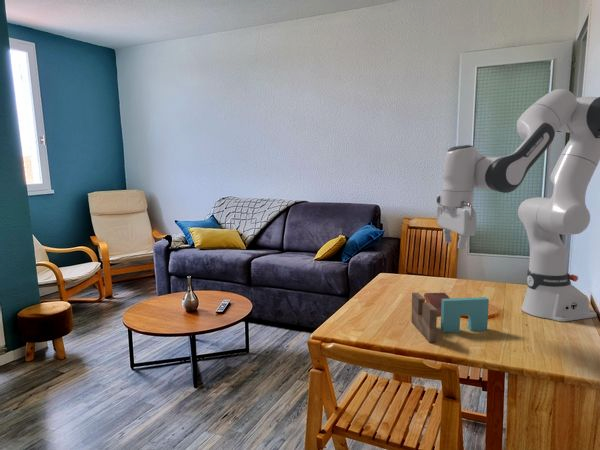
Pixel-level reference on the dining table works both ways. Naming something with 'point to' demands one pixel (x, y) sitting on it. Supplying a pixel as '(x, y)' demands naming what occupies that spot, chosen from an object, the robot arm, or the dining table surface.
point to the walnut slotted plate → (424, 317)
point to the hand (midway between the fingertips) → (454, 245)
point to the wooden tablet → (436, 300)
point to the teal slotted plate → (464, 313)
